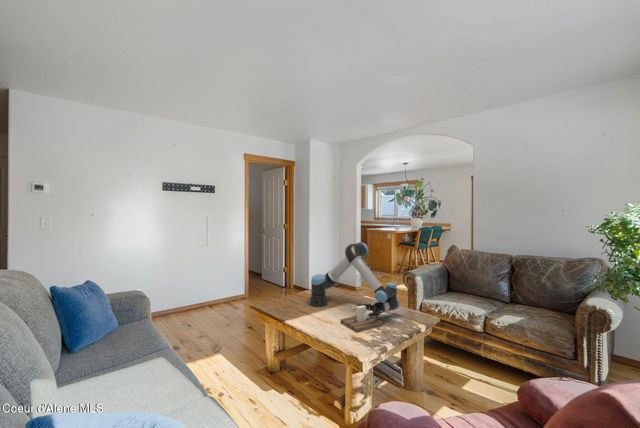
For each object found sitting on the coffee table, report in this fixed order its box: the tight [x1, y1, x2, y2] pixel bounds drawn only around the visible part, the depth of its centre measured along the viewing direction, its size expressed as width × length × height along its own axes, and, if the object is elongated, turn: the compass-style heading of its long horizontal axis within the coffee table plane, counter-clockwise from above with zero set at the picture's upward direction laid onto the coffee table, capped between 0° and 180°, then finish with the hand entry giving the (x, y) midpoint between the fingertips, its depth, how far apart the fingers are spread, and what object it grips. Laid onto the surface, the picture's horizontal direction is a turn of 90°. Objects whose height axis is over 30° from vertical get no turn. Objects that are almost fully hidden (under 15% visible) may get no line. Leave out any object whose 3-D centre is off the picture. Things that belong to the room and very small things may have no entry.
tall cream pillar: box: [356, 305, 367, 323], centre depth 196 cm, size 3×6×12 cm, turn 121°
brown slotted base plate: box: [340, 314, 383, 333], centre depth 197 cm, size 18×22×2 cm
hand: (357, 312), depth 195 cm, fingers open, 13 cm apart
